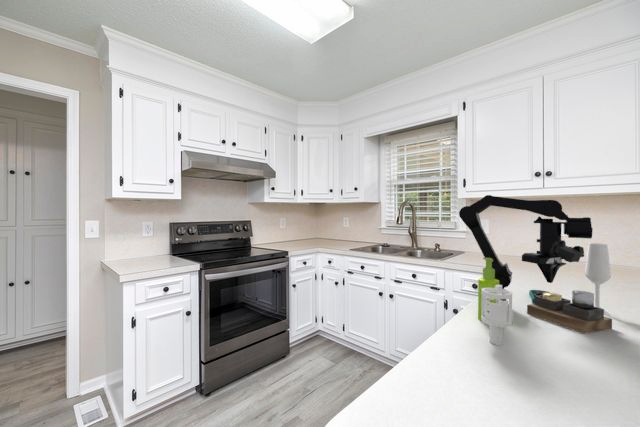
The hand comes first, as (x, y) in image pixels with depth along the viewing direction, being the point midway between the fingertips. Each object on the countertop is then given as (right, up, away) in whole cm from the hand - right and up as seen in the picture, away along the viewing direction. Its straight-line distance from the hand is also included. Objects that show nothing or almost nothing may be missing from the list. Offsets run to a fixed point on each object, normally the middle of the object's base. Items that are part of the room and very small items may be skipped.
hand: (549, 282), depth 99 cm
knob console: (+1, -11, -5) cm, 12 cm away
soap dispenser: (-23, -11, -4) cm, 26 cm away
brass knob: (0, -8, -1) cm, 8 cm away
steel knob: (+3, -5, -9) cm, 11 cm away
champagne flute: (+19, -11, +3) cm, 23 cm away
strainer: (-31, -11, -21) cm, 39 cm away
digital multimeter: (+10, -12, +16) cm, 22 cm away
